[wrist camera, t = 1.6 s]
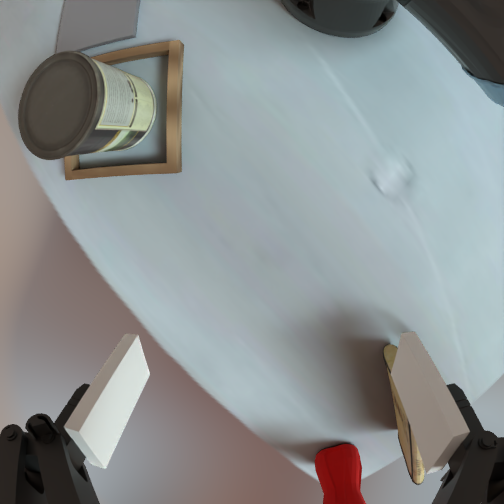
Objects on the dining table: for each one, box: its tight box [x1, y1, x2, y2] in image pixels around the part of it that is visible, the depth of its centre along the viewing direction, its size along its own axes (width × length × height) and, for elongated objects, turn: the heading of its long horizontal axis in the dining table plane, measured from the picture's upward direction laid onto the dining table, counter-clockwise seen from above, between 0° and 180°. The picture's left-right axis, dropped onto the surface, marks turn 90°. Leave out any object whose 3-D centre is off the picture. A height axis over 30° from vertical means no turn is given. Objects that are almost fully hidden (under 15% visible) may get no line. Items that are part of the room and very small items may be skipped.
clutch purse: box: [383, 344, 424, 485], centre depth 39 cm, size 30×7×15 cm, turn 24°
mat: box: [56, 0, 140, 54], centre depth 27 cm, size 13×13×1 cm
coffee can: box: [18, 51, 157, 160], centre depth 27 cm, size 10×10×14 cm
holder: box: [64, 40, 184, 180], centre depth 32 cm, size 16×16×2 cm
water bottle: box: [315, 444, 366, 504], centre depth 41 cm, size 9×11×25 cm
